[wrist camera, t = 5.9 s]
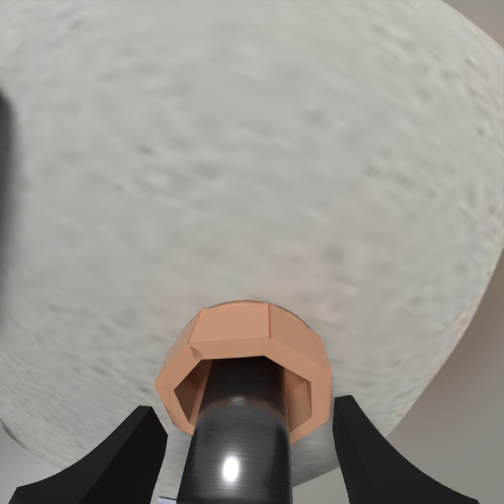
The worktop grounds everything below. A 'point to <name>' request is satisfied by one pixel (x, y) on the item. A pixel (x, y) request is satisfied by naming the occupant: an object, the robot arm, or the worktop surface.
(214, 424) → the cell
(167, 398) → the cup
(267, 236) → the worktop surface
